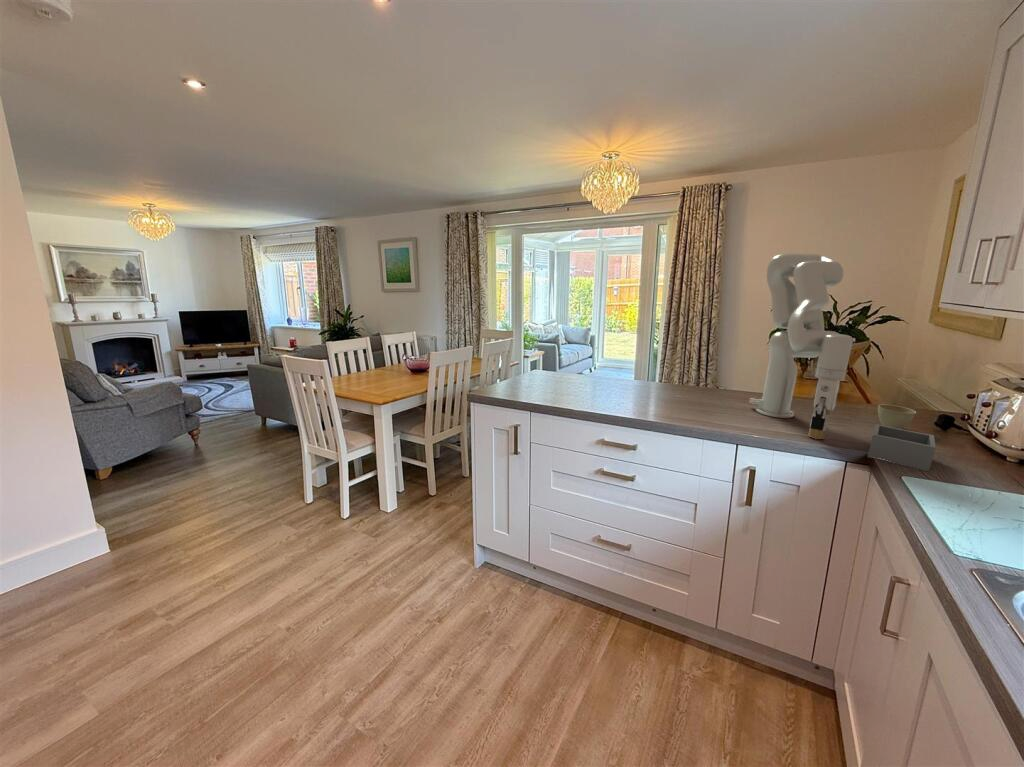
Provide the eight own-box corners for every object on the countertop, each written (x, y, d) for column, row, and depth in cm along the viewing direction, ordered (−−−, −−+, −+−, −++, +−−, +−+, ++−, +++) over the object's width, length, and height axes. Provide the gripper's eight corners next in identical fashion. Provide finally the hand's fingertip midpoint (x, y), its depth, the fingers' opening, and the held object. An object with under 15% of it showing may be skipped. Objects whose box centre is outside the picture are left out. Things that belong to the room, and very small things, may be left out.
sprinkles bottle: (803, 435, 139) (812, 396, 136) (816, 435, 139) (825, 396, 136) (814, 440, 134) (823, 400, 131) (827, 440, 135) (837, 400, 132)
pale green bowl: (867, 424, 152) (871, 405, 150) (884, 421, 155) (889, 403, 153) (899, 434, 143) (905, 414, 141) (917, 431, 146) (923, 411, 144)
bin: (867, 457, 123) (873, 434, 121) (870, 445, 132) (875, 424, 130) (928, 471, 114) (935, 447, 113) (927, 457, 124) (933, 435, 122)
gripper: (841, 380, 123) (829, 435, 127) (848, 371, 135) (836, 422, 140) (811, 375, 128) (799, 429, 132) (819, 368, 140) (809, 417, 144)
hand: (818, 425), depth 136 cm, fingers open, 8 cm apart
